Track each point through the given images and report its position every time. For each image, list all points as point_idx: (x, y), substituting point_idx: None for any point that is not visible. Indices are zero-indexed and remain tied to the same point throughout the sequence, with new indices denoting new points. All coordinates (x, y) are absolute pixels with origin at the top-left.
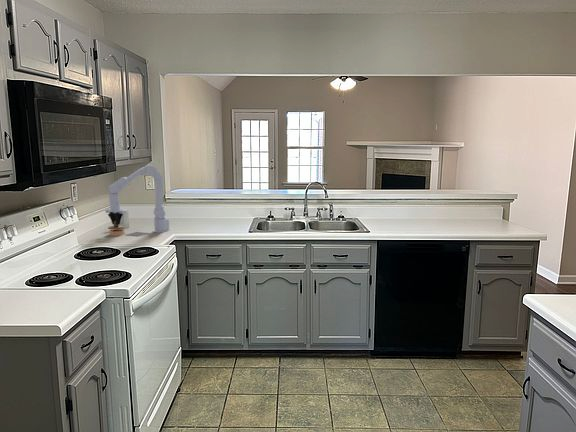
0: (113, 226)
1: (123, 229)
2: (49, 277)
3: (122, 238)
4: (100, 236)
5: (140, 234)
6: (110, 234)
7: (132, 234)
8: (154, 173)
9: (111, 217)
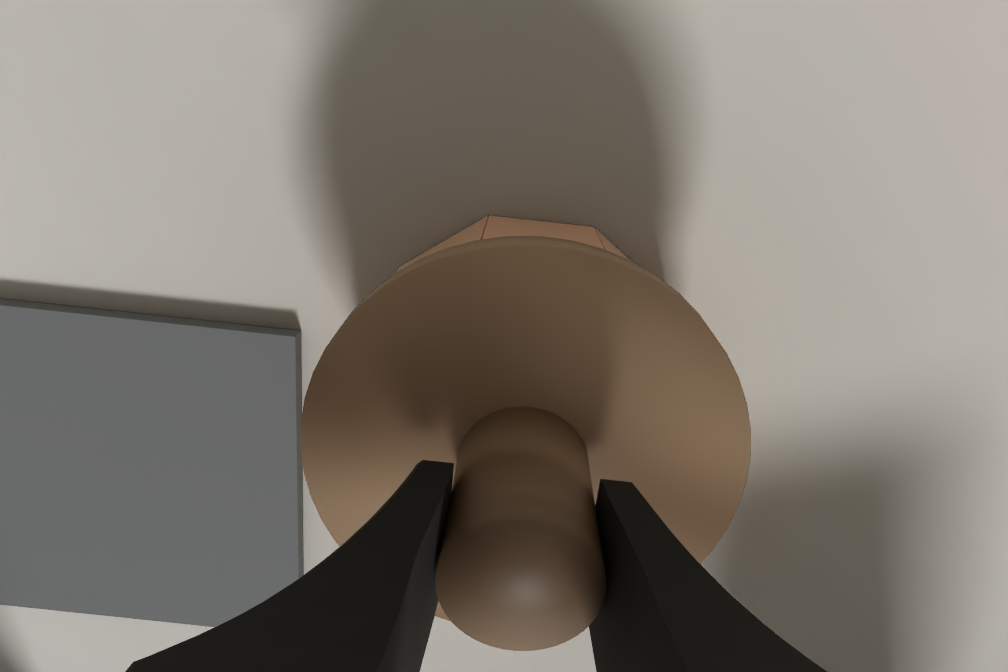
0: (641, 491)
1: None
2: None
3: (131, 90)
4: (815, 143)
5: (33, 470)
6: (581, 235)
7: (183, 434)
8: None
9: (671, 637)
